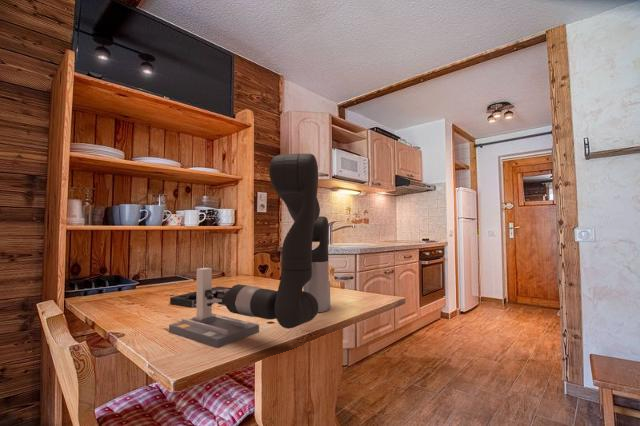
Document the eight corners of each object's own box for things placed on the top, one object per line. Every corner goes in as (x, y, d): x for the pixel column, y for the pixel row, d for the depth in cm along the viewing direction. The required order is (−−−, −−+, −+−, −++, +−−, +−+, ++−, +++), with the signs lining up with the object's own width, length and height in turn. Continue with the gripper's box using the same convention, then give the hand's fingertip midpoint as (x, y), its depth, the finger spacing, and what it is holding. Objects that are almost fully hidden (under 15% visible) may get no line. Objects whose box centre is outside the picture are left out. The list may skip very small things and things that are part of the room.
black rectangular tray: (218, 283, 144) (251, 287, 134) (218, 293, 144) (251, 297, 134) (169, 294, 122) (205, 299, 112) (169, 305, 121) (205, 311, 112)
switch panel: (211, 319, 100) (211, 310, 100) (259, 331, 87) (258, 320, 87) (169, 331, 88) (169, 321, 88) (217, 347, 76) (217, 335, 76)
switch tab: (207, 318, 94) (207, 267, 94) (215, 320, 91) (215, 268, 92) (192, 322, 90) (192, 269, 90) (200, 325, 87) (200, 270, 88)
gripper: (266, 282, 86) (225, 277, 96) (227, 290, 75) (186, 284, 85) (266, 309, 85) (225, 301, 95) (227, 321, 75) (186, 311, 84)
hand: (207, 293), depth 90 cm, fingers closed
